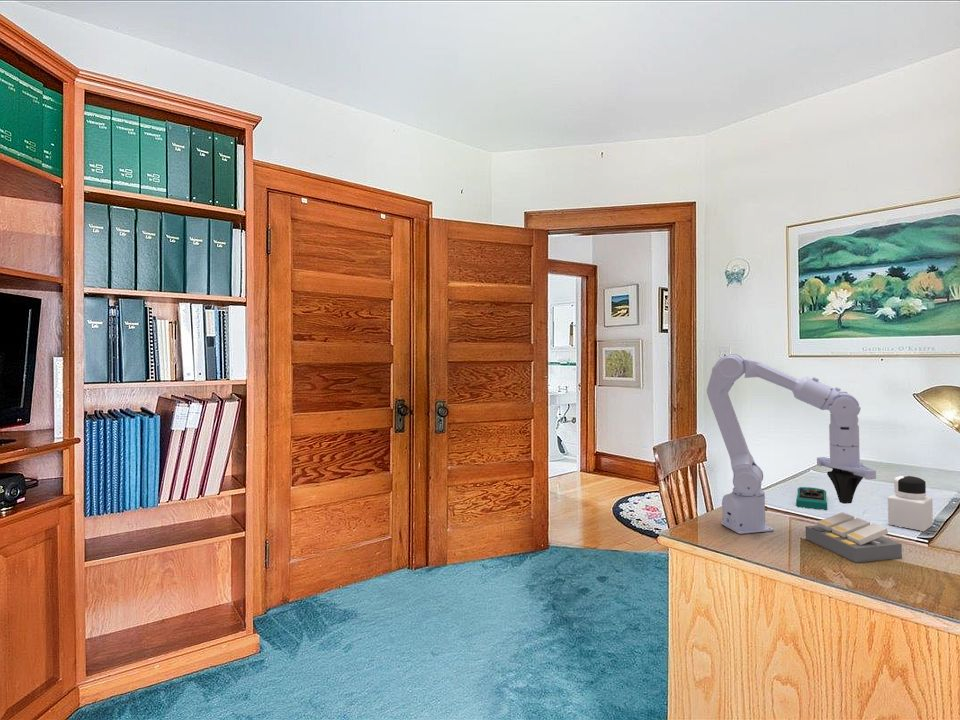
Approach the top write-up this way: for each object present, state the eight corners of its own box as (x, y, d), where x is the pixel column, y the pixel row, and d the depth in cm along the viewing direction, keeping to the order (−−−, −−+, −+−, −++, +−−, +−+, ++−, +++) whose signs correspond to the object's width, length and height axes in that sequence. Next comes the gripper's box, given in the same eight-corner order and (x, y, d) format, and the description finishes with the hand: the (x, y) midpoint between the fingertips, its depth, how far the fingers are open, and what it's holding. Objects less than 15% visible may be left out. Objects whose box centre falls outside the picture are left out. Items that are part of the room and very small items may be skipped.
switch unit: (856, 562, 110) (855, 545, 110) (805, 538, 124) (805, 523, 124) (901, 557, 112) (901, 540, 112) (847, 534, 126) (846, 519, 126)
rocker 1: (828, 531, 120) (827, 526, 120) (818, 526, 123) (816, 521, 123) (855, 521, 121) (853, 516, 121) (843, 517, 124) (842, 512, 124)
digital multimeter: (826, 498, 156) (826, 488, 156) (827, 512, 144) (827, 501, 144) (797, 495, 160) (797, 485, 160) (796, 508, 148) (796, 498, 148)
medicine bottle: (933, 525, 130) (932, 477, 129) (923, 532, 126) (923, 482, 125) (897, 518, 135) (897, 472, 135) (887, 524, 131) (886, 477, 131)
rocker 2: (844, 537, 116) (842, 532, 116) (832, 532, 119) (831, 527, 119) (871, 527, 117) (869, 522, 117) (858, 522, 120) (857, 517, 120)
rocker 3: (860, 545, 112) (859, 539, 112) (848, 539, 115) (846, 534, 115) (888, 533, 113) (886, 528, 113) (875, 528, 116) (873, 523, 116)
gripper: (887, 449, 115) (889, 510, 116) (834, 438, 130) (835, 492, 130) (859, 451, 114) (860, 513, 115) (808, 440, 129) (810, 495, 129)
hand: (845, 502), depth 122 cm, fingers closed
